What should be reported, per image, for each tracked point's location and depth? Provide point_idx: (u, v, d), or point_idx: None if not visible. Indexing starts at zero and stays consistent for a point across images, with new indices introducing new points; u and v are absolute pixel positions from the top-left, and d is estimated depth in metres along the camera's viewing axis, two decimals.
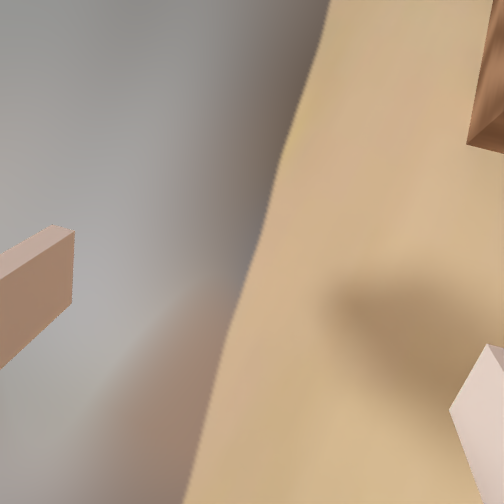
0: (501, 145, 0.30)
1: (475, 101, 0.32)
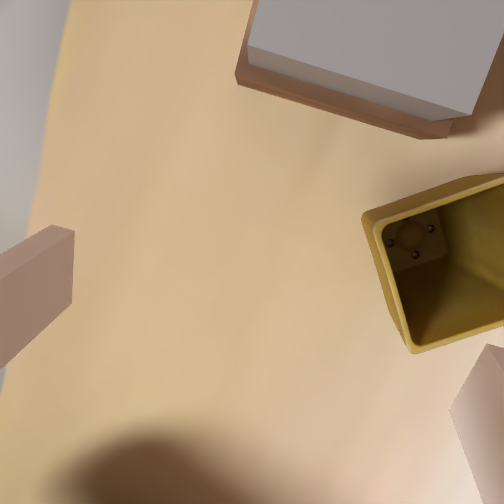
0: (265, 91, 0.30)
1: None
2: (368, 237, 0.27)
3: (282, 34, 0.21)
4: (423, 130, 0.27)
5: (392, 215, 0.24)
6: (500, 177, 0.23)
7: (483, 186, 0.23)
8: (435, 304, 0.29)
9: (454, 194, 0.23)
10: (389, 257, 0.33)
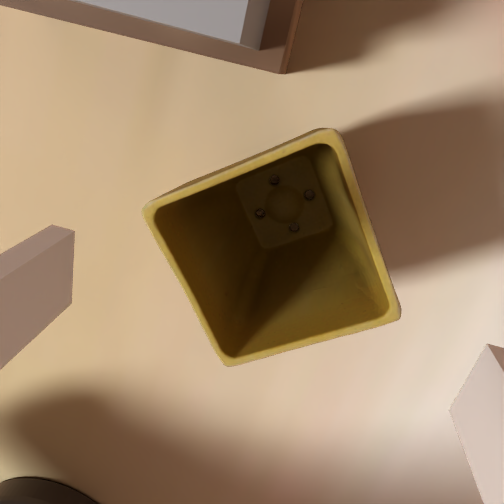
0: None
1: None
2: None
3: None
4: (245, 64, 0.19)
5: (164, 195, 0.17)
6: (303, 137, 0.16)
7: (278, 152, 0.16)
8: (288, 297, 0.23)
9: (241, 164, 0.16)
10: (261, 231, 0.26)
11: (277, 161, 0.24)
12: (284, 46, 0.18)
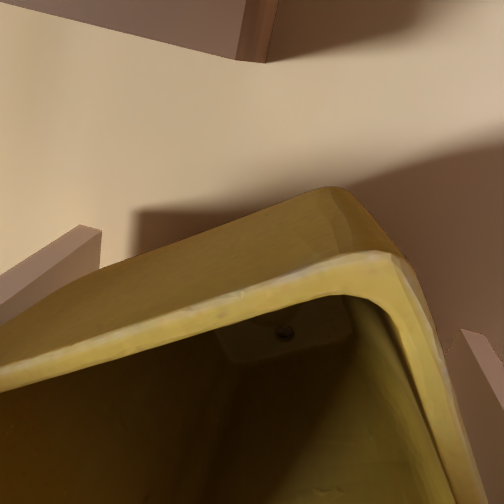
0: None
1: None
2: None
3: None
4: (155, 38, 0.08)
5: None
6: (286, 274, 0.05)
7: (205, 315, 0.05)
8: (269, 496, 0.12)
9: (101, 336, 0.05)
10: (229, 336, 0.15)
11: None
12: None
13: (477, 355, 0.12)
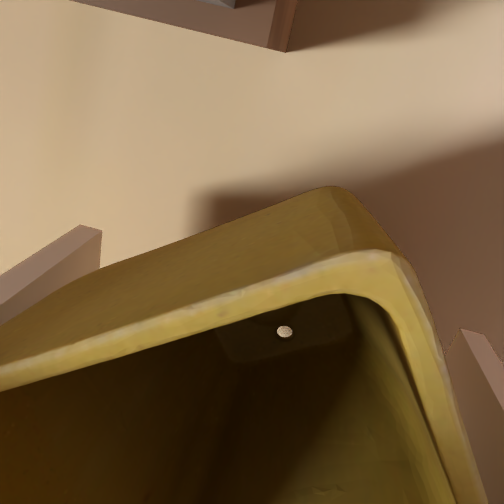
0: None
1: None
2: None
3: None
4: (198, 29, 0.09)
5: None
6: (287, 273, 0.05)
7: (206, 314, 0.05)
8: (270, 495, 0.12)
9: (102, 334, 0.05)
10: (229, 335, 0.15)
11: None
12: None
13: (477, 355, 0.12)
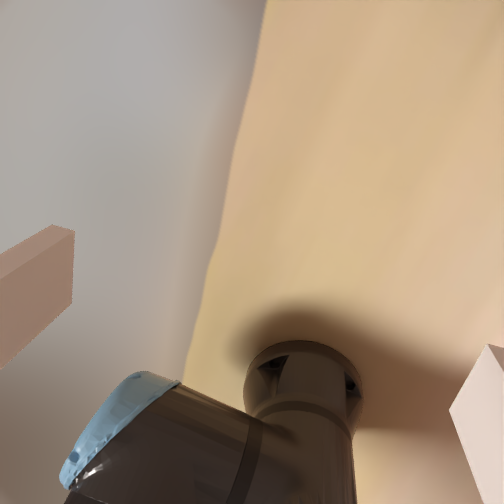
0: None
1: None
2: None
3: None
4: None
5: None
6: None
7: None
8: None
9: None
10: None
11: None
12: None
13: None
